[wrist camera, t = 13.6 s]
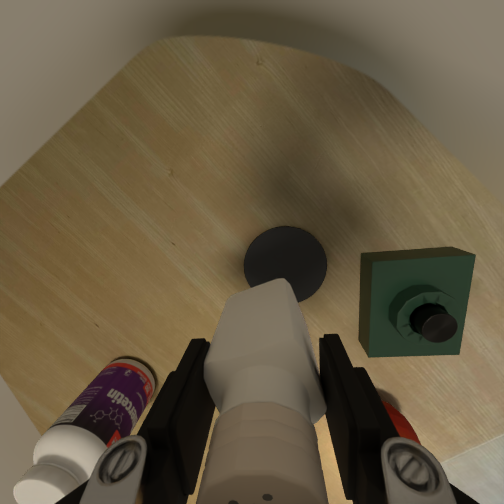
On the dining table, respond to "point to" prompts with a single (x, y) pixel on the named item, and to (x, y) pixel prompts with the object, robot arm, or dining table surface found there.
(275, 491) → the salt shaker
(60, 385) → the dining table surface
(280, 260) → the coaster
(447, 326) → the black push button
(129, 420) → the pill bottle
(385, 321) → the green square nut
